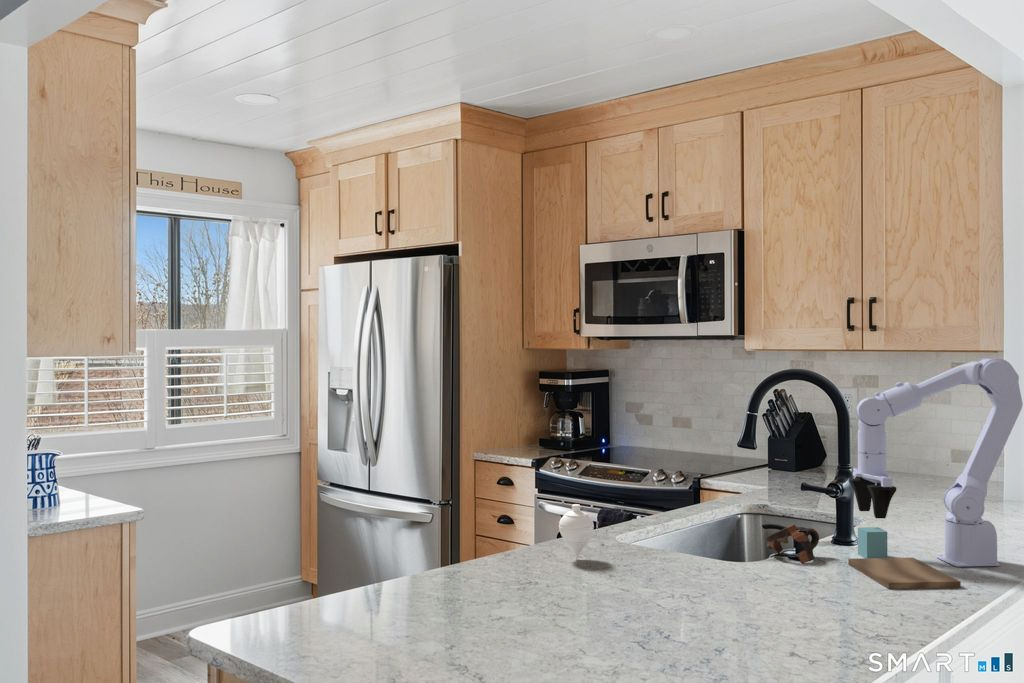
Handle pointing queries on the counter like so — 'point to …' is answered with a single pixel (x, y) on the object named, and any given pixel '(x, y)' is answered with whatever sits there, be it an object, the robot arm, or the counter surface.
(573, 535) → the spinning top
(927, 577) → the walnut board
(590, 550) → the counter surface
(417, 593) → the counter surface
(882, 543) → the teal block
